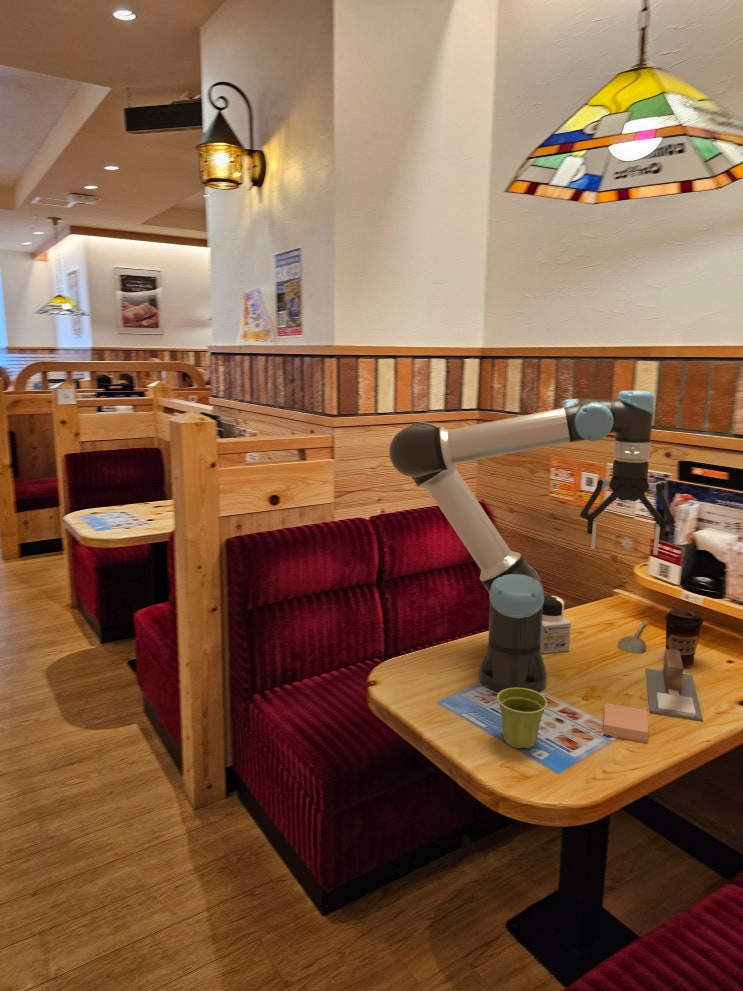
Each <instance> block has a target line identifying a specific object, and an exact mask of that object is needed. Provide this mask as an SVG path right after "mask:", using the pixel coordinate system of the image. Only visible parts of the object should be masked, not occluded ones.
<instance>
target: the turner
mask: <svg viewBox="0 0 743 991" xmlns="http://www.w3.org/2000/svg"><path fill="white" fill-rule="evenodd" d="M662 667H663V668H662V671H663V677H664V684H665V690H666V692H668V694H664V693H658V692H657V704H658V711H660V712H666V713H672V714H678V715H684V716H691V717H696V712H695V708H694V703H693V699H692V698H690V697H683V696H679V694H681V686H682V677H683V674H684V667H683V665H682V661H681V656H680V651H678V650H671V649H666V648H664V657H663V666H662Z"/></svg>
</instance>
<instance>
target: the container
mask: <svg viewBox="0 0 743 991" xmlns="http://www.w3.org/2000/svg"><path fill="white" fill-rule="evenodd" d="M564 614H565V601H564V599H562V598H561V597H559V596H556V595H544V603H543V612H542V629H541V646H540V651H541V654H549V653H550V654H552V653H558V652H559V653H560V652H568V651H569V650H570V641H571V628H572V623H571V621H569V620H568V619H567V618H565V616H564Z"/></svg>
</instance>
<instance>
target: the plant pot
mask: <svg viewBox="0 0 743 991" xmlns="http://www.w3.org/2000/svg"><path fill="white" fill-rule="evenodd" d="M496 701H497V703H498V704H499V708H500V711H501V712H500V713H501V726H502V735H503V736H502V737H503V740H504V742H505V743H506V744H507V745H508V746H510V747H513V748H515V749H522V748H525V749H530V748H532V747H534V746H535V745H536V742H537V738H538V734H539V729H540V725H541V720H542V717H543V715H544V712H545V710H546V708H547V706H548V700H547V698H546V697H545V696H544V695H543V694H542V693H540V692H536V691H534V690H531V689H526V688H508V689H504V690H502V691H501V692H497V696H496Z"/></svg>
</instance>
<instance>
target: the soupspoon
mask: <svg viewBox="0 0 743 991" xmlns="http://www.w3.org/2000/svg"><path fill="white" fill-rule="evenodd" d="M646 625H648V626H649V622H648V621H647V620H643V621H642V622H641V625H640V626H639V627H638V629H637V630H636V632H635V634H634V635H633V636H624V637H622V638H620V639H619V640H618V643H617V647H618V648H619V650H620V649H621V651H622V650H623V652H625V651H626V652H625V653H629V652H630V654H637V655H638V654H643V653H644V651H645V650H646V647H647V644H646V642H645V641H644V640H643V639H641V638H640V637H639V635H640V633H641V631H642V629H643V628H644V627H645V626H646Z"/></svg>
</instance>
